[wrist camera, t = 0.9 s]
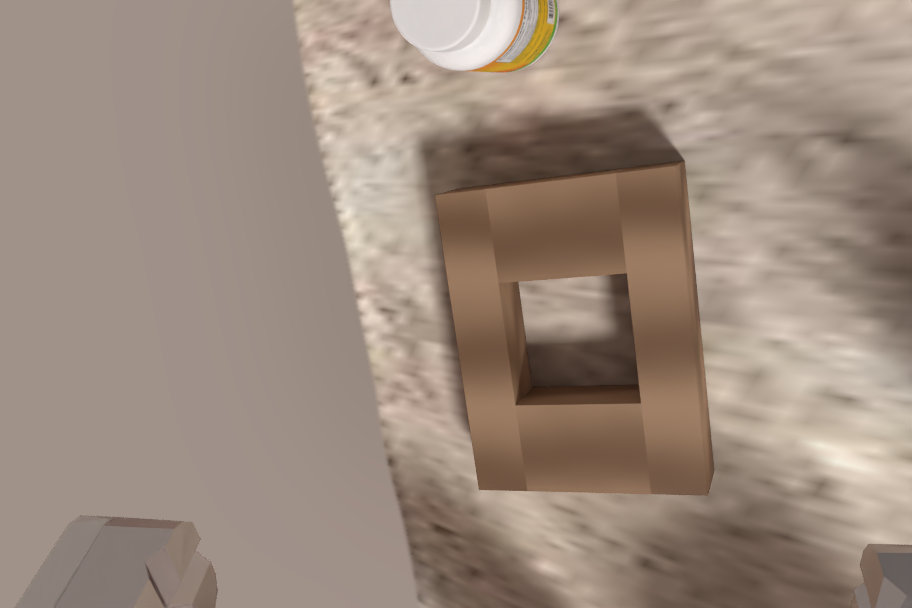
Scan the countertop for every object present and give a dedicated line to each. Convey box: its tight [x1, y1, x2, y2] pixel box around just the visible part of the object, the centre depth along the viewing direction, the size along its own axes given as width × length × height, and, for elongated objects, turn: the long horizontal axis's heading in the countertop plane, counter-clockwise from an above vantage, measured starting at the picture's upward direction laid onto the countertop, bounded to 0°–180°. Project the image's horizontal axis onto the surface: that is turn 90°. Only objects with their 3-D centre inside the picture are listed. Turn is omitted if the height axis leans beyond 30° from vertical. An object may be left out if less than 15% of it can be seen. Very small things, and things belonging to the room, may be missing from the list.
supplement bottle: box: [390, 0, 559, 72], centre depth 39 cm, size 5×5×10 cm
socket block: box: [435, 161, 714, 495], centre depth 44 cm, size 16×12×3 cm
